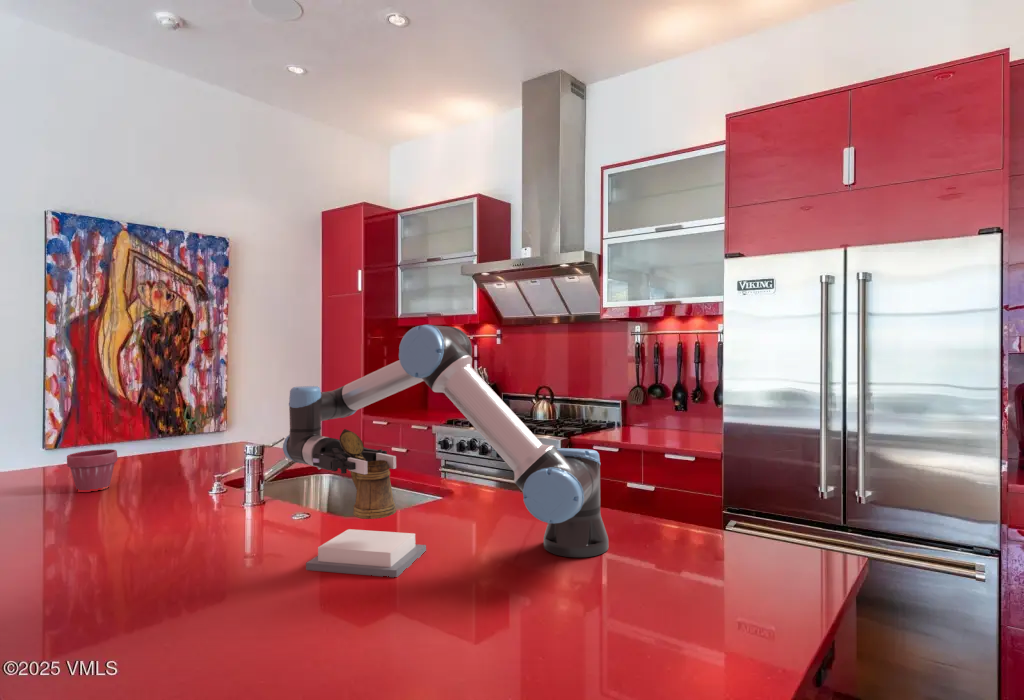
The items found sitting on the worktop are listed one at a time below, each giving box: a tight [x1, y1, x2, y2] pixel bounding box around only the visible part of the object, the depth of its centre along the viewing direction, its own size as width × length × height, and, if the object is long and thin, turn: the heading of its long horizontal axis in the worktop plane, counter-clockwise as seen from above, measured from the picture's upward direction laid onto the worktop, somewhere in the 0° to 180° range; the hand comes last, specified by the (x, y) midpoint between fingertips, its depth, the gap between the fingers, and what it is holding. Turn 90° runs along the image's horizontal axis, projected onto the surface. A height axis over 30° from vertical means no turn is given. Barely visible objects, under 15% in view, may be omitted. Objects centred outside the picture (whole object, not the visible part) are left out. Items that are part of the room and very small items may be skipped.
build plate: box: [305, 528, 427, 578], centre depth 133 cm, size 21×16×4 cm
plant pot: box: [66, 448, 118, 490], centre depth 205 cm, size 14×14×13 cm
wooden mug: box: [339, 428, 397, 520], centre depth 132 cm, size 9×14×18 cm, turn 58°
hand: (380, 465), depth 129 cm, fingers closed on wooden mug, 7 cm apart
